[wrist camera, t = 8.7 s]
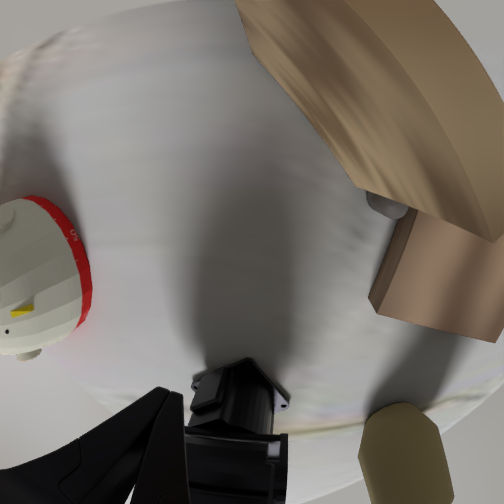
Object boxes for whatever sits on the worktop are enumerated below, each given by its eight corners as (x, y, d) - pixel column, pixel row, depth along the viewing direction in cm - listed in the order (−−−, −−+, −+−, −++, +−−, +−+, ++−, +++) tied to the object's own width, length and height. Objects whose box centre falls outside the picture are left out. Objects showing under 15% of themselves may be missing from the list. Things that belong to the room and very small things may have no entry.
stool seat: (535, 185, 16) (553, 189, 14) (482, 329, 20) (495, 343, 18) (428, 114, 16) (444, 109, 14) (367, 297, 20) (376, 313, 18)
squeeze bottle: (432, 383, 22) (498, 538, 5) (421, 432, 24) (460, 562, 7) (352, 404, 24) (379, 585, 6) (352, 449, 26) (367, 592, 9)
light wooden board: (397, 200, 18) (554, 274, 5) (374, 216, 18) (511, 319, 5) (277, 38, 16) (257, -121, 2) (252, 54, 16) (194, -98, 3)
